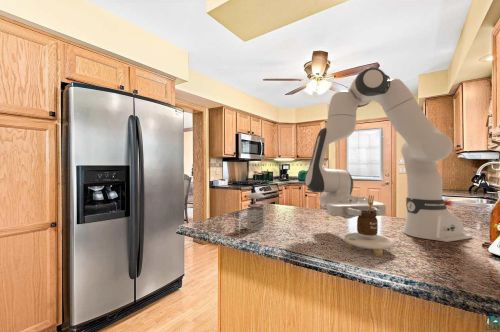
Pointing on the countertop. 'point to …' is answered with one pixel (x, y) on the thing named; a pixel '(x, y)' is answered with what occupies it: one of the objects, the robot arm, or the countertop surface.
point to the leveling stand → (369, 242)
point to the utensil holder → (367, 221)
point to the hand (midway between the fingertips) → (369, 213)
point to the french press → (256, 212)
